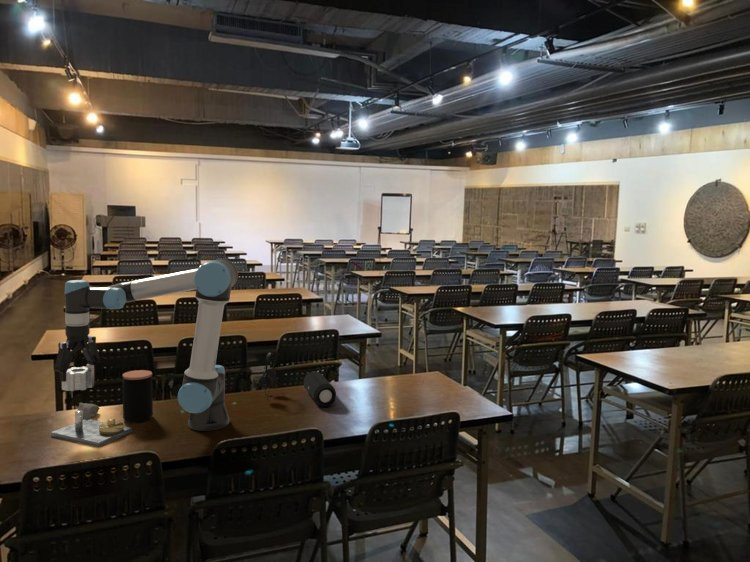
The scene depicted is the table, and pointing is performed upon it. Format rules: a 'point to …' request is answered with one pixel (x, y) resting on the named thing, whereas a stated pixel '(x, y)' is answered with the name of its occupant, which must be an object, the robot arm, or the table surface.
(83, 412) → the stone
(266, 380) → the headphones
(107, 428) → the carrier
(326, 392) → the portable speaker
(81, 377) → the planet gear
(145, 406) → the coffee jar
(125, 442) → the table surface
